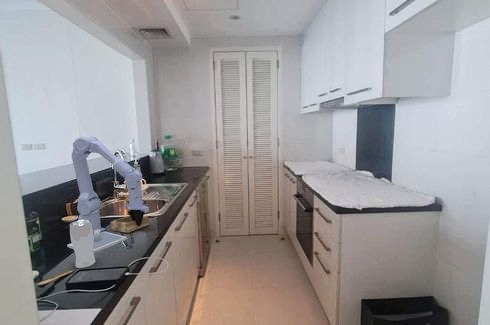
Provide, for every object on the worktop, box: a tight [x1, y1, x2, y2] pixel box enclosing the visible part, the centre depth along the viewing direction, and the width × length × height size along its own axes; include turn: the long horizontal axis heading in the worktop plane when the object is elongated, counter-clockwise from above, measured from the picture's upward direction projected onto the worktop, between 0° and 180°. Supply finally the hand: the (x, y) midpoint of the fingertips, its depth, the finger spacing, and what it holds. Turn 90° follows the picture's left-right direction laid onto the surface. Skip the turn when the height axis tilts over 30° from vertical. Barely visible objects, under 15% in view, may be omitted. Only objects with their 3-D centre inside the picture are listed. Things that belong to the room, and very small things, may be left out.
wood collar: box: [110, 215, 150, 234], centre depth 129 cm, size 12×12×4 cm
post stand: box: [66, 229, 128, 254], centre depth 112 cm, size 16×16×6 cm
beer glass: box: [69, 219, 96, 269], centre depth 93 cm, size 7×7×15 cm
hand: (137, 225), depth 126 cm, fingers closed on wood collar
